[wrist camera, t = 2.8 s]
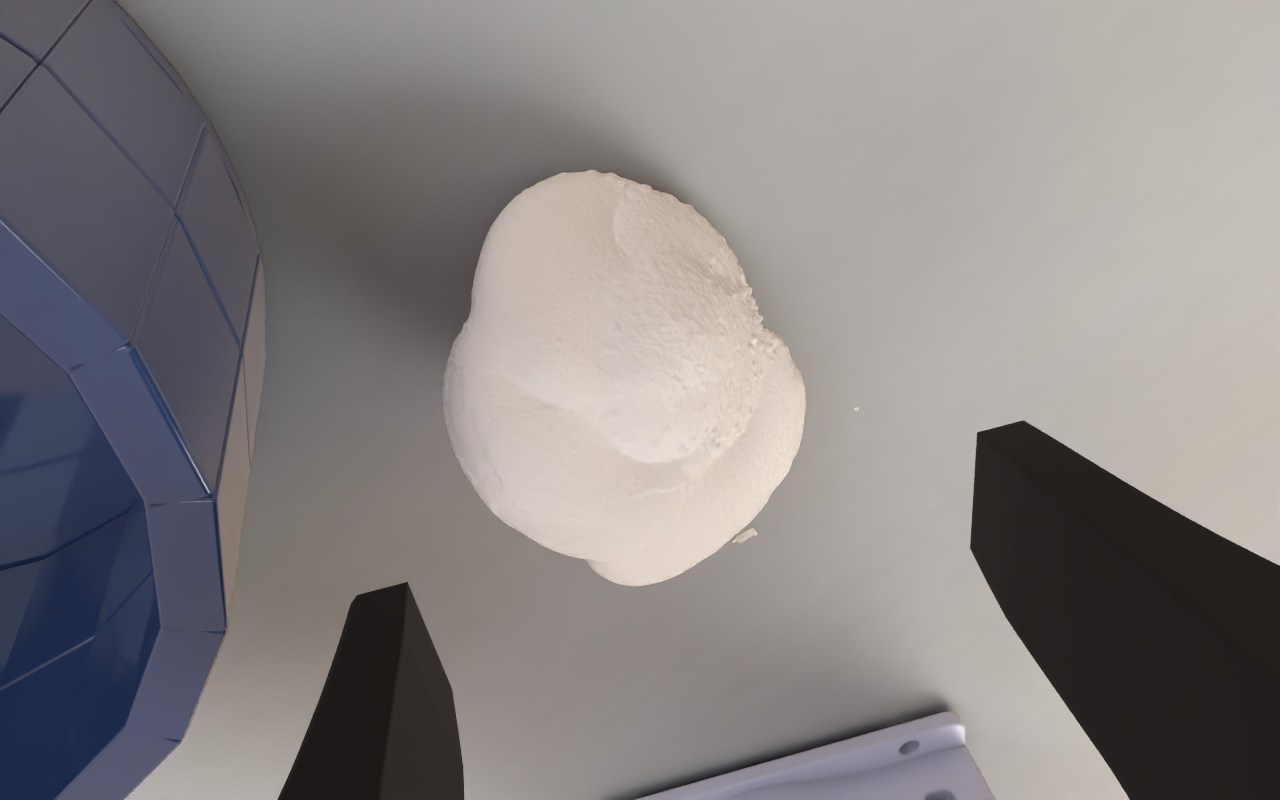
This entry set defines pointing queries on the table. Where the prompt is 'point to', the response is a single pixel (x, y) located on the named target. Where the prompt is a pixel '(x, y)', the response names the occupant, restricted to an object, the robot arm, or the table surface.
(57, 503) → the pot
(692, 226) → the dumpling
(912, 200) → the table surface
